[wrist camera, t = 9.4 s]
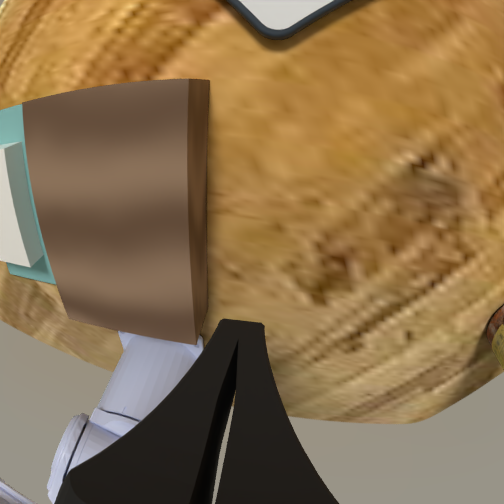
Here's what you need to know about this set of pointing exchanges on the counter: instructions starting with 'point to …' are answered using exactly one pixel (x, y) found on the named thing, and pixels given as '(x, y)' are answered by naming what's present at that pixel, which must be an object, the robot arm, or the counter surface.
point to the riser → (125, 203)
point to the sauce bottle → (497, 335)
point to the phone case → (283, 14)
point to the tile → (16, 210)
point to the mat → (9, 131)
